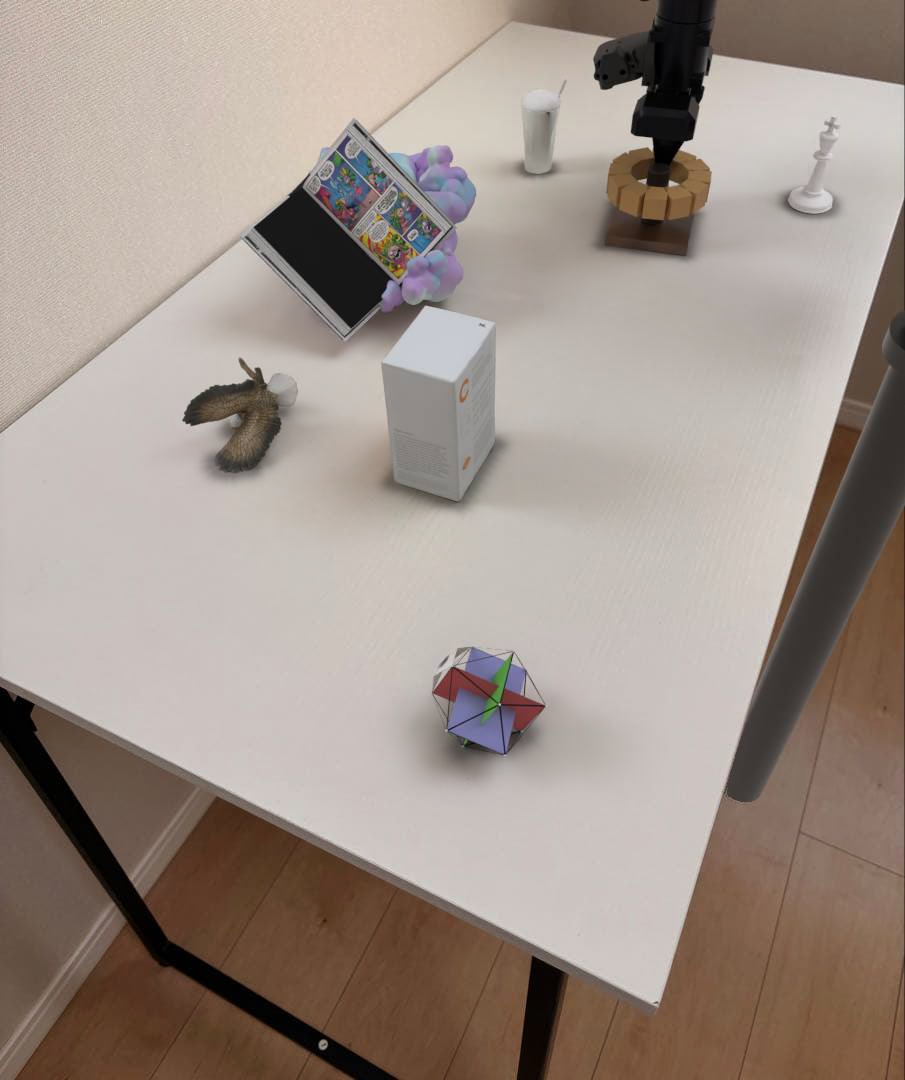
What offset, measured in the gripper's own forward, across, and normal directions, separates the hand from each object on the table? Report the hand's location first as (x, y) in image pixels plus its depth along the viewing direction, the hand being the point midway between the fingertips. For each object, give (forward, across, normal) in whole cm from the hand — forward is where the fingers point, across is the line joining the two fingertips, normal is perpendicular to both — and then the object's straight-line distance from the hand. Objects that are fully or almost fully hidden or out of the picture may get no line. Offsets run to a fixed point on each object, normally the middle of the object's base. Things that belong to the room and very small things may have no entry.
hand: (662, 165), depth 104 cm
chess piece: (+6, -6, +17) cm, 19 cm away
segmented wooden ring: (+1, +4, 0) cm, 4 cm away
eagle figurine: (+6, +47, -30) cm, 56 cm away
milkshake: (+6, -7, -15) cm, 17 cm away
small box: (+6, +46, -12) cm, 48 cm away
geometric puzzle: (+6, +70, -2) cm, 70 cm away
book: (+6, +22, -26) cm, 35 cm away
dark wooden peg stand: (+5, +4, 0) cm, 7 cm away
